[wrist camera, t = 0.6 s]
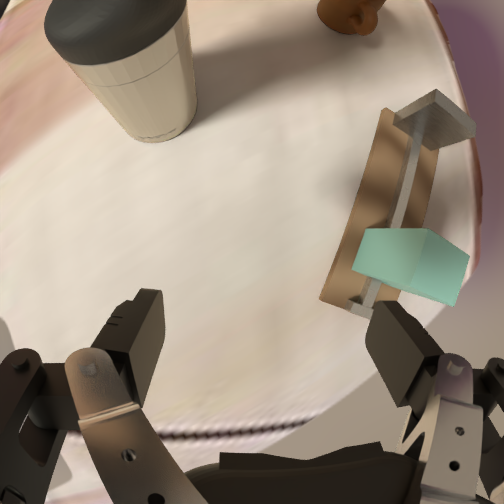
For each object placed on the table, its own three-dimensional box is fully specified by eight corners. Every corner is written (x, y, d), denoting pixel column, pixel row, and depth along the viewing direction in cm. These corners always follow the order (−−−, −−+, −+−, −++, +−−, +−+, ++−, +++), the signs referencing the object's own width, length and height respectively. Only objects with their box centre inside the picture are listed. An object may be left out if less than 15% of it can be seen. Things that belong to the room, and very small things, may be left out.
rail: (379, 321, 33) (422, 344, 24) (333, 305, 32) (371, 328, 23) (432, 139, 33) (476, 123, 24) (395, 113, 32) (436, 88, 23)
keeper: (392, 286, 33) (453, 306, 22) (351, 269, 32) (409, 286, 21) (405, 248, 33) (469, 255, 22) (365, 228, 32) (428, 228, 21)
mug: (371, 63, 32) (404, 30, 23) (321, 52, 31) (347, 12, 22) (357, 8, 31) (382, -25, 22) (312, -3, 31) (331, -41, 21)
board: (382, 321, 35) (387, 324, 33) (318, 298, 33) (322, 301, 32) (434, 146, 34) (439, 144, 33) (381, 110, 33) (386, 107, 32)
